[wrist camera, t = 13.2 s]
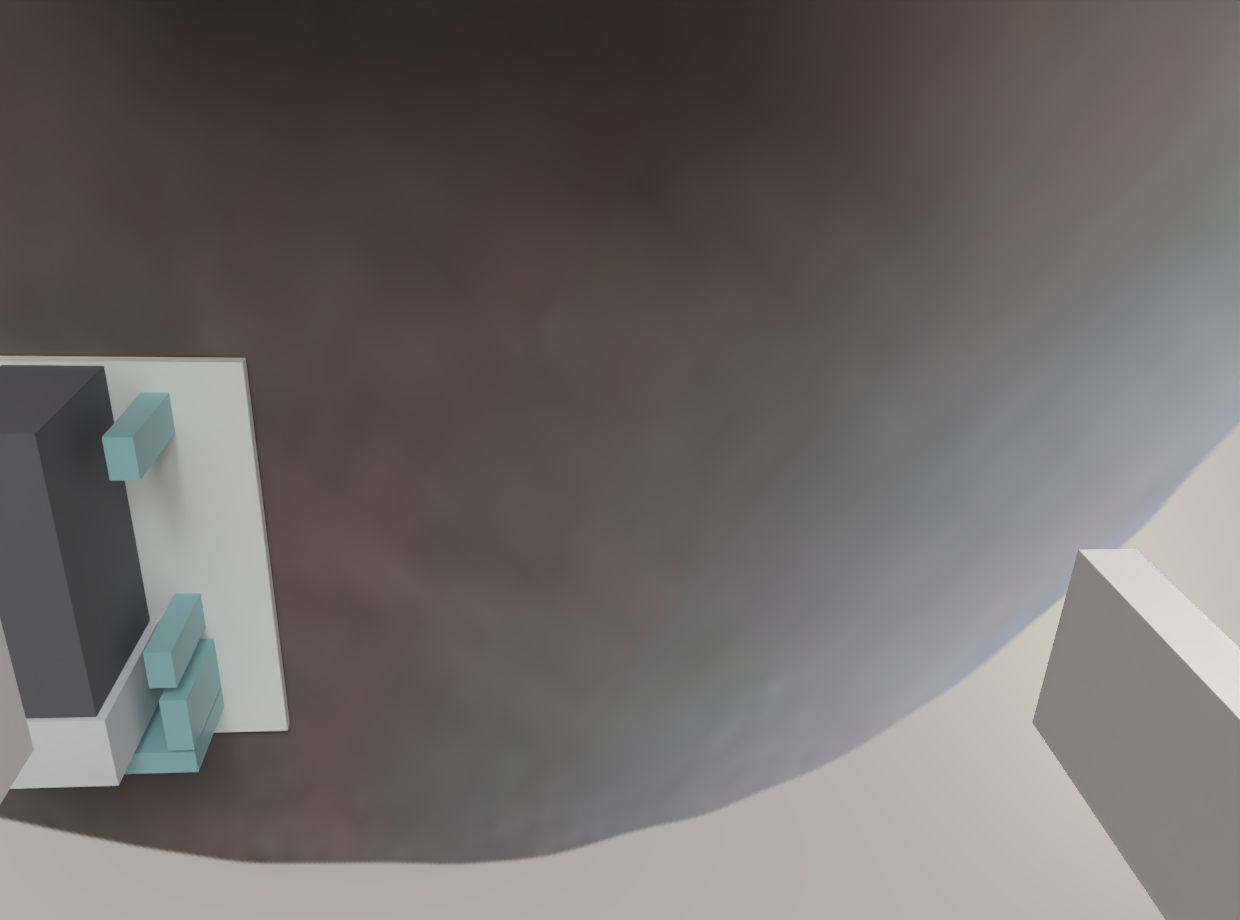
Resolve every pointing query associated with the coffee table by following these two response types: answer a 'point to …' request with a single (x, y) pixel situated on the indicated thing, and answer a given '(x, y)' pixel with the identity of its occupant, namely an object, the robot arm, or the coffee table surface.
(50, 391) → the bar
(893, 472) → the coffee table surface
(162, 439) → the board
